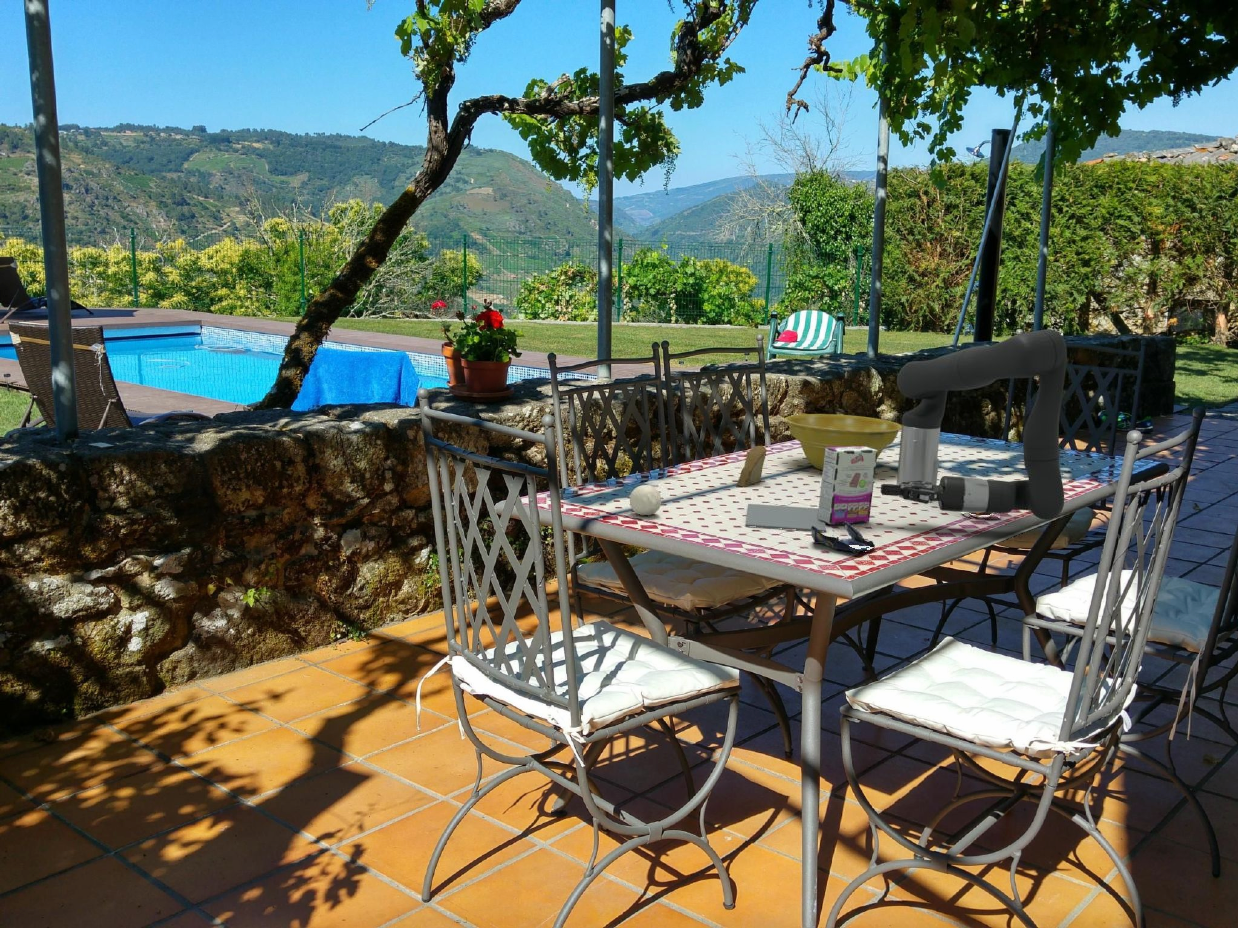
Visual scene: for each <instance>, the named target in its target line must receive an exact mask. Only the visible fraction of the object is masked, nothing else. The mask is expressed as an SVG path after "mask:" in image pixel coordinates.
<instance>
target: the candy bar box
mask: <svg viewBox="0 0 1238 928" xmlns="http://www.w3.org/2000/svg"><path fill="white" fill-rule="evenodd" d="M877 452H878V450H875V449H872V448H868V447H864V446H862V447H826V448H825V455H824V464H823V470H822V476H821V484H820V491H819V492H820V494H819V502H818V508H819V510H818V520H820V521H822V522H825V524H828V525H831V526H832V525H833V526H834V525H845V524H844V521H845V520H846V522H848V523H850V524H861V523H869V522H870V517H871V509H872V500H873V491H874V484H875V474H876V467H877V460H878V458H877ZM841 521H842V522H841Z"/></svg>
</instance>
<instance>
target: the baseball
mask: <svg viewBox="0 0 1238 928" xmlns="http://www.w3.org/2000/svg"><path fill="white" fill-rule="evenodd" d="M629 505H630V507H631V509H632V510H633V512H634V513H636V514H637V515H639V514H640V516H643V515H648V516H652V515H654V514H656V513H657V512H658V511H659V510H660V508H661V506H662V496H661V493H660V492H659V491H658V489H657V488H656V487H654V486H652V485H648V484H644V485H643V484H642V485H638V486H637V487H635V488H634V489H633V490H632V492H631V493H630V496H629Z"/></svg>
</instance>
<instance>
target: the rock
mask: <svg viewBox="0 0 1238 928" xmlns="http://www.w3.org/2000/svg"><path fill="white" fill-rule="evenodd" d="M766 454H767V448H766V447H765V446H764V445H757V446H756V445H755V447H752V448H751V449H750V450H749V451H747V452H746V458H745V462H744V466H743V467H742V469H741V472H740V475H739V477H738V480H737V483H736V485H737V486H740V487H747V486H752V485H754V484H757V483H759V482H761V480H762V479H761V478H762V476H763V467H764V464H765V459H766Z"/></svg>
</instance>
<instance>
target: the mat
mask: <svg viewBox="0 0 1238 928" xmlns="http://www.w3.org/2000/svg"><path fill="white" fill-rule="evenodd" d="M818 510H819V507H817V508H815V507H803V506H802V507H801V506H788V505H773V504H761V503H760V504H758V503H757V504H756V503H747V510H746V517H745V518H746V519H745V526H756V527H755V528H757V527H763V528H762V529H771V528H782V529H781V530H785V529H796V530H795V531H799V530H804V531H803V532H812V530H811V527H812V526H814V527H816V528H817V529H818V530H819V531H824V532H823V533H827V526H826V523H825V522H822V521H820V520H818ZM745 526H744V527H745Z"/></svg>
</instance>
